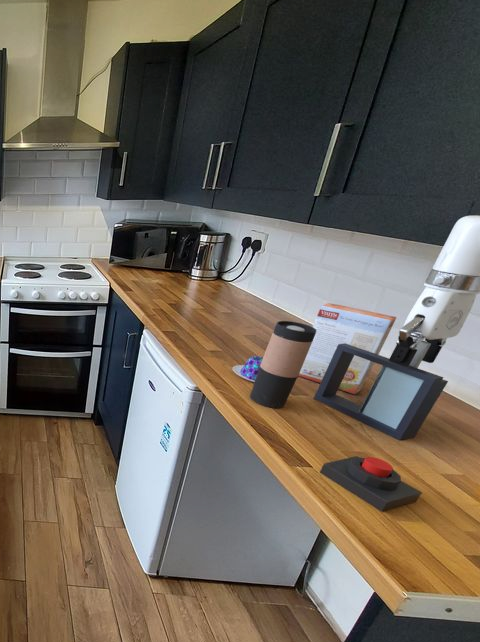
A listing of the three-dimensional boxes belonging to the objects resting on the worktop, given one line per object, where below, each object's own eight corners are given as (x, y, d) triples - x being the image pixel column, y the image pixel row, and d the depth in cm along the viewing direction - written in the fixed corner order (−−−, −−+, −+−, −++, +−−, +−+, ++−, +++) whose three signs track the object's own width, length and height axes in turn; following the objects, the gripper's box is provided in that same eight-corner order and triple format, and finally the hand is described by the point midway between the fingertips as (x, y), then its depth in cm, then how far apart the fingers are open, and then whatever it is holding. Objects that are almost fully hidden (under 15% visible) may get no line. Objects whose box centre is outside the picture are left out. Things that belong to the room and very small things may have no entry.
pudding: (223, 372, 114) (229, 356, 112) (244, 364, 120) (249, 348, 118) (270, 391, 105) (277, 373, 103) (290, 380, 111) (297, 363, 109)
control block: (416, 502, 70) (427, 484, 68) (381, 512, 67) (393, 494, 65) (351, 464, 78) (360, 448, 77) (319, 472, 76) (327, 455, 74)
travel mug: (242, 392, 104) (268, 319, 95) (271, 394, 103) (301, 321, 95) (260, 408, 97) (291, 331, 88) (292, 410, 97) (326, 333, 88)
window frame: (414, 437, 88) (451, 376, 82) (399, 440, 86) (436, 378, 80) (327, 396, 103) (352, 342, 97) (313, 398, 102) (338, 344, 96)
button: (393, 476, 70) (398, 468, 69) (379, 479, 69) (384, 471, 68) (369, 462, 73) (374, 455, 73) (356, 466, 72) (360, 458, 72)
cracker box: (361, 390, 107) (399, 316, 99) (354, 395, 104) (392, 320, 96) (300, 369, 118) (329, 301, 109) (291, 374, 115) (321, 304, 106)
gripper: (452, 288, 73) (405, 374, 81) (507, 284, 78) (458, 365, 85) (402, 278, 80) (363, 358, 87) (455, 275, 85) (414, 351, 92)
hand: (410, 361), depth 86 cm, fingers open, 7 cm apart
